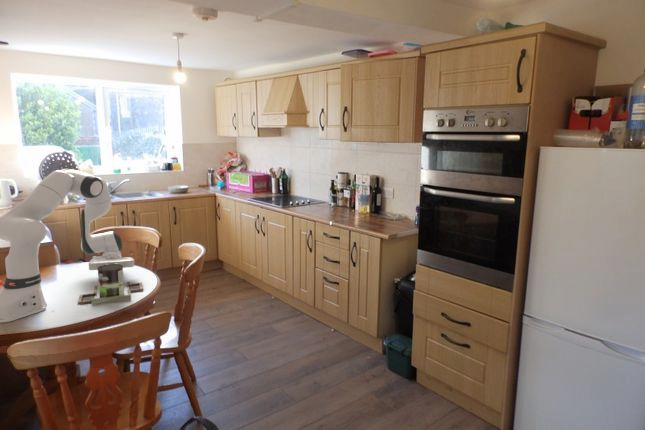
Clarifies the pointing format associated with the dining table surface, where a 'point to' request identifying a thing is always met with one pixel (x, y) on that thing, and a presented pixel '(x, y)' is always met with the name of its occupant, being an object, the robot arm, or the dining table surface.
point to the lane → (90, 297)
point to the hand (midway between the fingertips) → (111, 267)
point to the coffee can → (110, 280)
